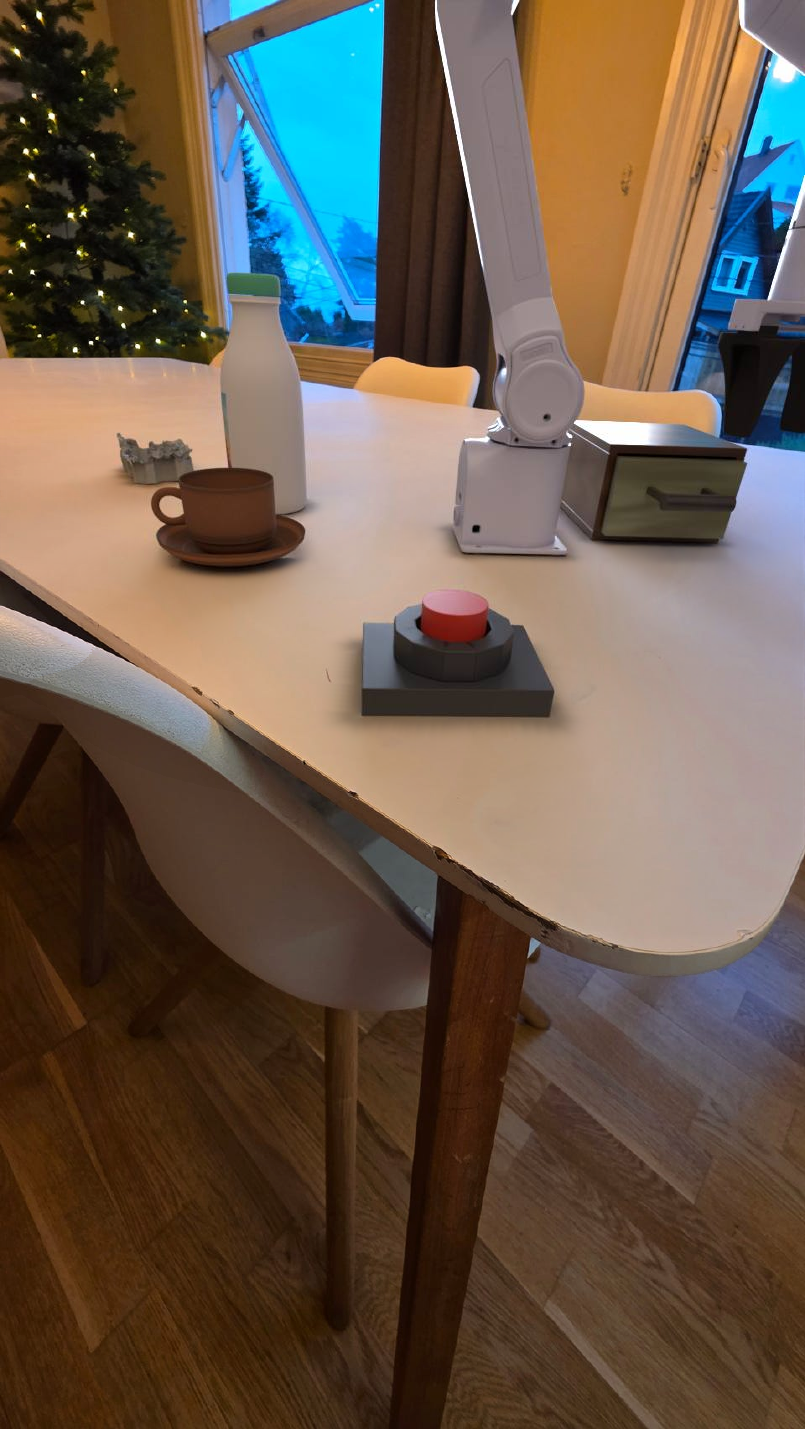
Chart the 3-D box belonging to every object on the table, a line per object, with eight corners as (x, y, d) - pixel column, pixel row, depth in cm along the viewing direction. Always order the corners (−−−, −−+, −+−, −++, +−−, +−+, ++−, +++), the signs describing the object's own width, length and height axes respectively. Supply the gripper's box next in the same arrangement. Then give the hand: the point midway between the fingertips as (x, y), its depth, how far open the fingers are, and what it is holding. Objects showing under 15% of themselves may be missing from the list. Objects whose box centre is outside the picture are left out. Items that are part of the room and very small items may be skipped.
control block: (361, 716, 33) (361, 657, 31) (363, 646, 39) (363, 594, 37) (549, 718, 33) (561, 660, 31) (519, 649, 40) (527, 597, 38)
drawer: (749, 556, 55) (778, 475, 51) (622, 553, 54) (642, 471, 50) (669, 504, 69) (687, 437, 66) (569, 501, 69) (581, 434, 65)
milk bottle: (322, 505, 67) (315, 277, 56) (272, 521, 61) (254, 271, 50) (268, 493, 70) (251, 275, 59) (216, 507, 64) (187, 270, 54)
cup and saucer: (168, 587, 46) (153, 502, 43) (153, 538, 55) (140, 465, 52) (324, 569, 51) (321, 491, 47) (286, 527, 60) (281, 459, 56)
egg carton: (120, 467, 78) (113, 431, 76) (182, 464, 81) (177, 429, 79) (131, 486, 70) (123, 447, 68) (199, 482, 73) (194, 444, 71)
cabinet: (718, 542, 61) (748, 448, 56) (591, 539, 60) (610, 443, 55) (663, 505, 72) (684, 424, 67) (555, 502, 71) (569, 420, 67)
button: (422, 645, 33) (424, 614, 32) (418, 617, 36) (420, 588, 35) (490, 646, 33) (494, 616, 32) (480, 618, 36) (483, 589, 35)
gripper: (827, 216, 39) (752, 446, 47) (943, 237, 46) (861, 437, 53) (730, 224, 44) (677, 431, 52) (846, 242, 51) (784, 424, 58)
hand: (765, 433), depth 53 cm, fingers open, 7 cm apart
